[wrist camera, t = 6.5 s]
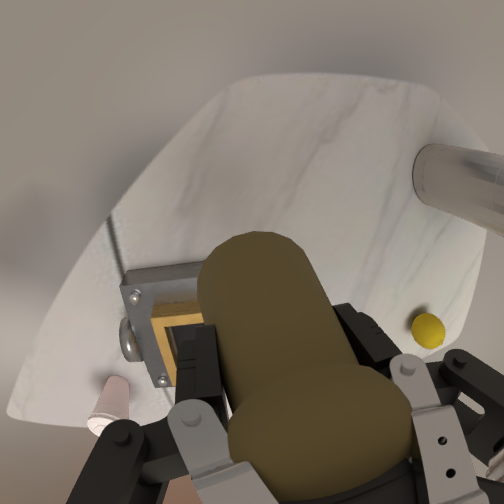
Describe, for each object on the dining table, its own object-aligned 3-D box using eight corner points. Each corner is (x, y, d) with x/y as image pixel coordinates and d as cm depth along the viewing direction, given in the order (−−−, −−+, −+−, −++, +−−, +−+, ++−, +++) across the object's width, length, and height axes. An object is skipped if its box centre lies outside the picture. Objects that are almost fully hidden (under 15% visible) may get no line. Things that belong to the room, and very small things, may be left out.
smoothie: (94, 368, 36) (72, 440, 23) (131, 369, 37) (117, 446, 24) (107, 395, 39) (93, 463, 26) (142, 396, 39) (134, 468, 27)
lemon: (407, 336, 45) (431, 362, 38) (399, 320, 43) (426, 347, 35) (428, 316, 44) (454, 340, 37) (422, 299, 42) (451, 323, 35)
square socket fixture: (267, 253, 34) (282, 277, 28) (271, 354, 40) (282, 385, 34) (115, 272, 32) (99, 299, 26) (147, 369, 37) (142, 401, 32)
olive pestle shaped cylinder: (236, 207, 13) (353, 427, 3) (334, 265, 15) (479, 423, 5) (176, 310, 14) (169, 532, 4) (272, 348, 16) (337, 524, 6)
